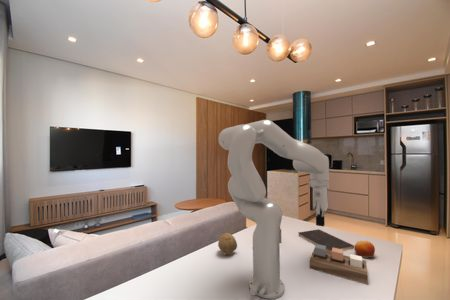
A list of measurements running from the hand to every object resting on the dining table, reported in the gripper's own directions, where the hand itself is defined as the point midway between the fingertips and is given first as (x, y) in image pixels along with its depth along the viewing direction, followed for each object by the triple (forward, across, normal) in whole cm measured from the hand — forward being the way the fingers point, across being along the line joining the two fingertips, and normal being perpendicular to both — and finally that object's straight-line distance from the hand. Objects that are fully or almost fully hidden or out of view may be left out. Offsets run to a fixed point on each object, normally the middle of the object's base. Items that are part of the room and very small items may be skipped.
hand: (320, 225), depth 88 cm
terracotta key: (+12, 0, -6) cm, 14 cm away
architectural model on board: (+17, +8, +26) cm, 32 cm away
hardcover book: (+18, +26, +2) cm, 31 cm away
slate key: (+12, 0, 0) cm, 12 cm away
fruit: (+17, +19, -16) cm, 30 cm away
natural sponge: (+17, -14, +40) cm, 45 cm away
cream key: (+13, 0, -13) cm, 19 cm away
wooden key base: (+17, 0, -6) cm, 18 cm away
